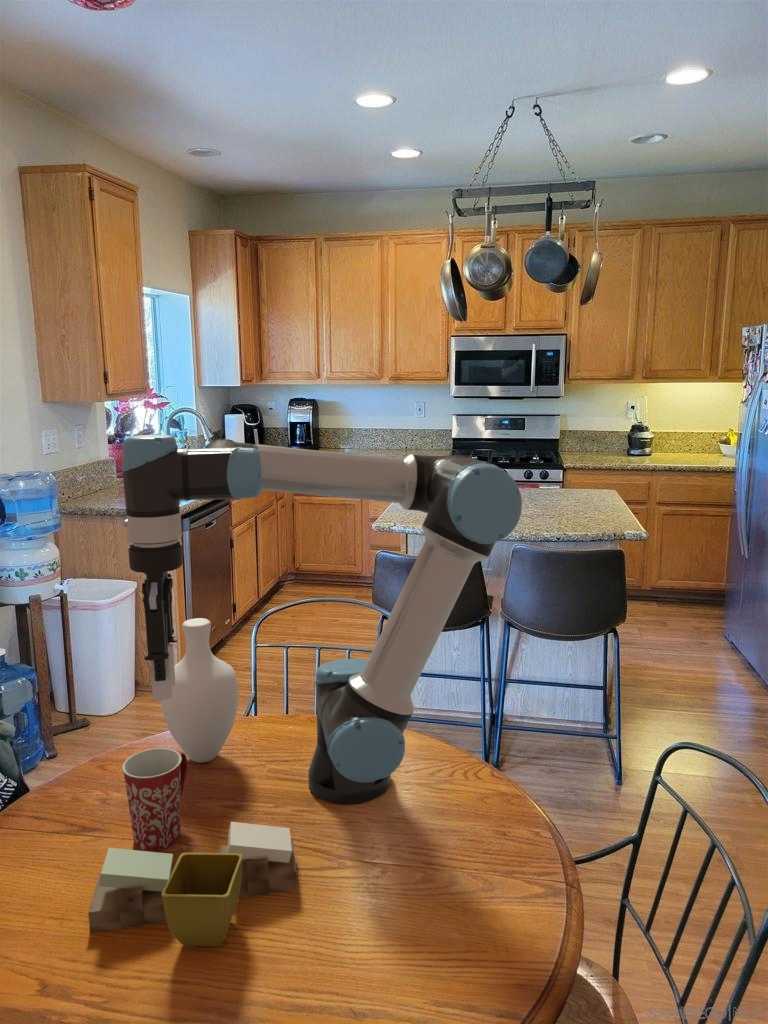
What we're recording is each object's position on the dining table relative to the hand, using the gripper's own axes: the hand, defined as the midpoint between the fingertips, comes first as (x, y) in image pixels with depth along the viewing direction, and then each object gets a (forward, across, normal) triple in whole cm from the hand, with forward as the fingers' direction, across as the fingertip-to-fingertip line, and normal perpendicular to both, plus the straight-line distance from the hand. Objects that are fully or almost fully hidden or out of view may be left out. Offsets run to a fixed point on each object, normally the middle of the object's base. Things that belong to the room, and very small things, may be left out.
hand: (164, 691), depth 110 cm
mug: (+27, -5, -2) cm, 27 cm away
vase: (+27, -28, +3) cm, 39 cm away
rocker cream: (+22, +9, +13) cm, 27 cm away
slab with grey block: (+27, +12, -4) cm, 30 cm away
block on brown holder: (+27, +9, +13) cm, 31 cm away
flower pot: (+27, +19, +6) cm, 33 cm away
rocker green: (+22, +12, -4) cm, 26 cm away
